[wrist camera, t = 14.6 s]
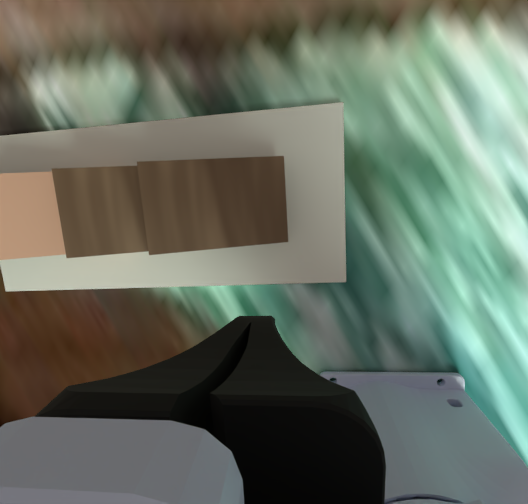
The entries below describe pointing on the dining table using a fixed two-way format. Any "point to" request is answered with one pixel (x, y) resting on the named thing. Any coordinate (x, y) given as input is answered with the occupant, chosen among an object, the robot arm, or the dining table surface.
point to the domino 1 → (29, 216)
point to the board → (202, 147)
